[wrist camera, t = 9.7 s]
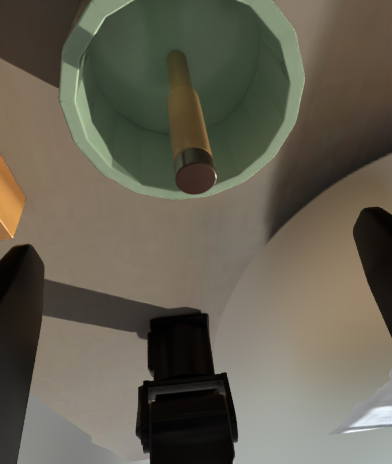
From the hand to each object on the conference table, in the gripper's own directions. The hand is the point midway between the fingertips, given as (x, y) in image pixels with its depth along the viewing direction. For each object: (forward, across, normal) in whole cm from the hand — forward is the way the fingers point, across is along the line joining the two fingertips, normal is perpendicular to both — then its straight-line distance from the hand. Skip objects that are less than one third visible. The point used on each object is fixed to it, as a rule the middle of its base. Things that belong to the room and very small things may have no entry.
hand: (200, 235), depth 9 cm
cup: (+12, 0, 0) cm, 12 cm away
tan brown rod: (+11, 0, 0) cm, 11 cm away
